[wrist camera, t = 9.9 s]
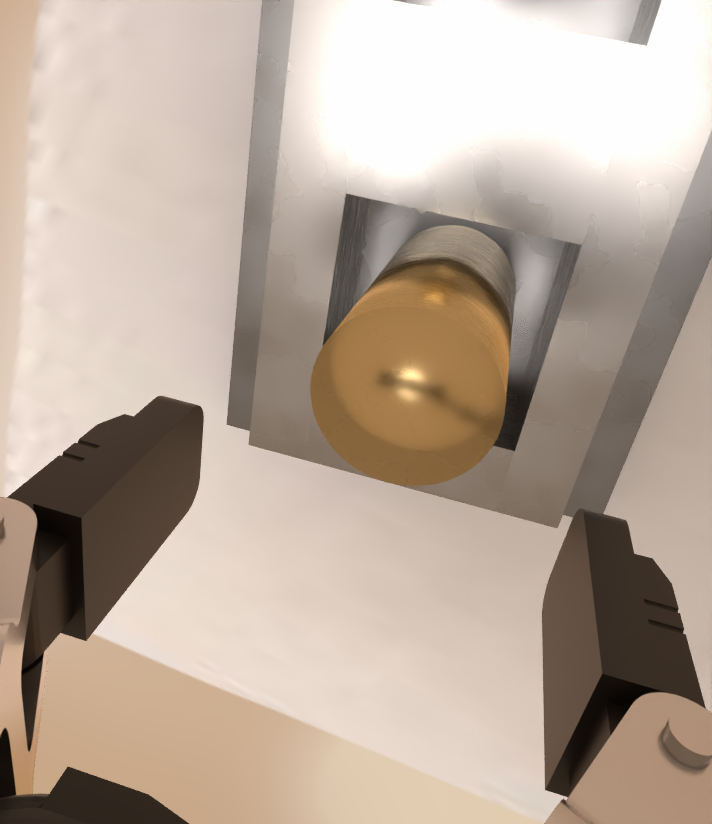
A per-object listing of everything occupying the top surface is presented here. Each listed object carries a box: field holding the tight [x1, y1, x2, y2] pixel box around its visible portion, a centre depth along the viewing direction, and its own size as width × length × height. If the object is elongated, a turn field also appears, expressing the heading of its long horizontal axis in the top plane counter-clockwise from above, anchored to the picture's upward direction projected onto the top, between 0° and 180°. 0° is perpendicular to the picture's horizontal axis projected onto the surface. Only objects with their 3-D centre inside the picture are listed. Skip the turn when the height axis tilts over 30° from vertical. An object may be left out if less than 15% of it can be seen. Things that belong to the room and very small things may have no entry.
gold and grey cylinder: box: [310, 225, 516, 486], centre depth 19 cm, size 4×4×9 cm
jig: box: [227, 0, 712, 528], centre depth 17 cm, size 15×26×10 cm, turn 170°
